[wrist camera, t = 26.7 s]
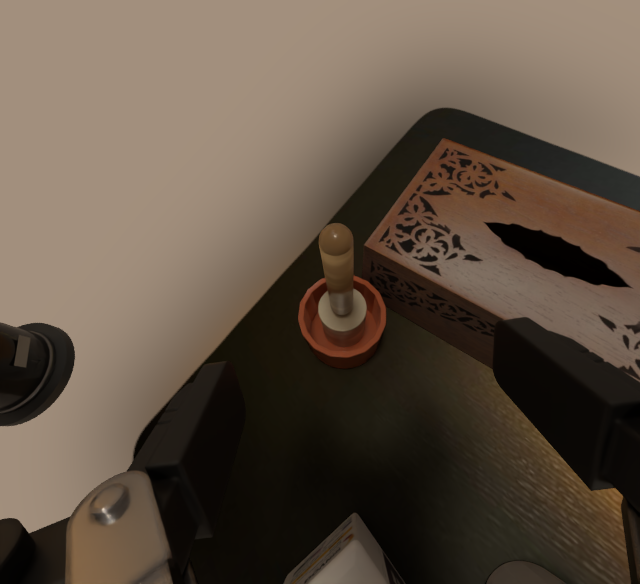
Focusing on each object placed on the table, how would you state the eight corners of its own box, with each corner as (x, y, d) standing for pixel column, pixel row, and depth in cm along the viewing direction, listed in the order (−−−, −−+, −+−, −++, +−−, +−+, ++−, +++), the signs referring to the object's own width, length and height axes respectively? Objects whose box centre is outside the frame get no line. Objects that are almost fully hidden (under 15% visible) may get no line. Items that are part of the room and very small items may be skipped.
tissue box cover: (361, 291, 35) (363, 244, 26) (422, 204, 39) (443, 137, 30) (606, 435, 28) (732, 440, 18) (652, 309, 31) (774, 261, 22)
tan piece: (331, 353, 32) (309, 277, 16) (318, 315, 34) (286, 213, 18) (370, 339, 32) (388, 250, 16) (355, 302, 34) (357, 189, 18)
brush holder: (319, 378, 32) (312, 369, 26) (299, 310, 35) (289, 289, 30) (392, 354, 32) (400, 340, 27) (365, 288, 35) (367, 264, 30)
